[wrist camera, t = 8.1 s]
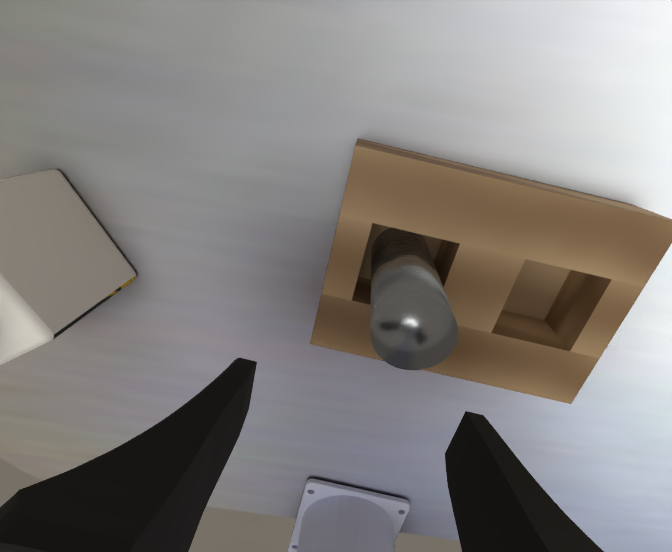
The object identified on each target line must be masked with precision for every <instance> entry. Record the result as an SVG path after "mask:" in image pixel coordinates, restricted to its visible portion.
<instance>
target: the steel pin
mask: <svg viewBox="0 0 672 552" xmlns="http://www.w3.org/2000/svg"><path fill="white" fill-rule="evenodd" d="M370 336H371V342H372V345H373V348H374V350H375V351H376V353H377V354H378V355H379V356H380V357H381V358H382V359H383V360H384V361H385V362H387V363H388V364H390V365H392V366H395V367H397V368H401V369H406V370H421V369H426V368H430V367H432V366H435V365H437V364H439V363H440V362H442V361H443V360H444V359H446V358H447V357H448V356H449V355H450V353H451V352H452V351H453V349H454V347H455V345H456V343H457V340H458V325H457V322H456V319H455V316H454V314H453V311H452V309H451V306H450V303H449V301H448V298H447V296H446V293H445V290H444V288H443V285H442V283H441V280H440V277H439V275H438V272H437V270H436V267H435V264H434V262H433V259H432V257H431V254H430V252H429V249H428V246H427V244H426V241H425V239H424V238H423V236H422V235H421V234H417V233H413V232H409V231H405V230H400V229H396V228H389V229H387V230H385V231H383V232H382V233H381V234H380V235H379V236H378V237H377V238H376V239H375V241H374V243H373V246H372V250H371V324H370Z"/></svg>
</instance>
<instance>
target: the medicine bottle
mask: <svg viewBox="0 0 672 552" xmlns="http://www.w3.org/2000/svg"><path fill="white" fill-rule="evenodd" d="M135 278H136V273H135V271H134V270H133V269H132V267H131V266H130V265H129V263H128V262H127V261H126V259H125V258H124V257H123V255H122V254H121V252H120V251H119V250H118V248H117V247H116V246H115V244H114V243H113V242H112V240H111V239H110V238H109V236H108V235H107V234H106V232H105V231H104V230H103V228H102V227H101V226H100V224H99V223H98V222H97V220H96V219H95V218H94V216H93V215H92V214H91V212H90V211H89V210H88V208H87V207H86V206H85V204H84V203H83V201H82V200H81V199H80V197H79V196H78V195H77V193H76V192H75V191H74V189H73V188H72V187H71V185H70V184H69V183H68V181H67V180H66V179H65V177H64V176H63V175H62V173H61V172H60V171H58V170H55V169H51V170H46V171H41V172H36V173H31V174H25V175H20V176H15V177H10V178H5V179H0V365H2V364H4V363H6V362H8V361H10V360H12V359H14V358H16V357H18V356H21V355H23V354H25V353H27V352H29V351H31V350H33V349H35V348H37V347H39V346H41V345H43V344H45V343H48V342H50V341H52V340H53V339H54V338H56V337H57V336H58V335H60V334H61V333H63V332H64V331H65V330H67V329H68V328H69V327H71V326H72V325H73V324H75V323H76V322H77V321H79V320H80V319H82V318H83V317H84V316H86V315H87V314H88V313H90V312H91V311H92V310H94V309H95V308H96V307H98V306H99V305H100V304H102V303H103V302H105V301H106V300H107V299H109V298H110V297H111V296H113V295H114V294H115V293H117V292H118V291H119V290H121V289H122V288H124V287H125V286H126V285H128V284H129V283H130V282H132V281H133V280H134V279H135Z"/></svg>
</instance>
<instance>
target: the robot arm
mask: <svg viewBox="0 0 672 552" xmlns="http://www.w3.org/2000/svg"><path fill="white" fill-rule="evenodd" d="M256 364H257V362H255V361H251V360H247V359H242V358H238V359H236V360H235V361H234V362H233V363H232V364H231V365H230V366H229V367H228V368H227V369H226V370H225V371H224V372H222V373H221V374H220V375H219V376H218V377H217V378H216V379H215V380H214V381H213V382H212V383H210V384H209V385H208V386H207V387H206V388H204V389H203V390H202V391H201V392H200V393H199V394H197V395H196V396H195V397H194V398H192V399H191V400H190V401H188V402H187V403H186V404H184V405H183V406H182V407H180V408H179V409H178V410H176V411H175V412H174V413H172V414H171V415H169V416H168V417H167V418H165V419H164V420H162V421H161V422H159V423H158V424H156V425H154V426H153V427H151V428H150V429H148V430H147V431H145V432H143V433H142V434H140V435H138V436H136V437H135V438H133V439H131V440H129V441H128V442H126V443H124V444H122V445H121V446H119V447H117V448H115V449H113V450H111V451H109V452H107V453H105V454H103V455H101V456H99V457H97V458H95V459H93V460H91V461H88V462H86V463H84V464H82V465H80V466H78V467H76V468H74V469H71V470H69V471H67V472H64V473H62V474H59V475H57V476H54V477H52V478H49V479H47V480H44V481H41V482H39V483H37V484H34V485H31V486H29V487H26V488H23V489H21V490H19V491H18V492H17V493H16V494H15V495H14V496H13V497H11V498H10V499H9V500H8V501H7V502H6V503H5V504H4V505H2V506H1V507H0V552H188V551H189V548H190V546H191V543H192V540H193V538H194V535H195V532H196V530H197V527H198V524H199V522H200V519H201V516H202V514H203V511H204V509H205V507H206V505H207V502H208V500H209V498H210V496H211V494H212V492H213V490H214V488H215V485H216V483H217V481H218V479H219V477H220V475H221V473H222V471H223V469H224V467H225V465H226V463H227V460H228V458H229V456H230V454H231V452H232V450H233V448H234V446H235V444H236V441H237V439H238V437H239V435H240V432H241V429H242V426H243V423H244V421H245V418H246V415H247V412H248V409H249V404H250V399H251V393H252V387H253V381H254V375H255V370H256ZM445 460H446V472H447V482H448V488H449V493H450V498H451V503H452V507H453V512H454V516H455V521H456V525H457V530H458V535H459V539H460V543H461V548H462V552H604V551H603V550H602V549H600V548H599V547H598V546H597V545H596V544H595V543H594V542H593V541H592V540H591V539H590V538H589V537H588V536H587V535H586V534H585V533H584V532H583V531H582V530H581V529H580V528H579V527H578V526H577V525H576V524H575V523H574V522H573V521H572V520H571V519H570V518H569V517H568V516H567V515H566V514H565V513H564V512H563V511H562V510H561V509H560V508H559V506H558V505H557V504H556V503H555V502H554V501H553V500H552V499H551V498H550V496H549V495H548V494H547V493H546V492H545V491H544V490H543V488H542V487H541V486H540V485H539V484H538V483H537V482H536V480H535V479H534V478H533V477H532V476H531V474H530V473H529V472H528V471H527V470H526V468H525V467H524V466H523V465H522V463H521V462H520V461H519V460H518V458H517V457H516V456H515V455H514V453H513V452H512V451H511V449H510V448H509V447H508V446H507V444H506V443H505V442H504V441H503V439H502V438H501V437H500V435H499V434H498V433H497V432H496V430H495V429H494V428H493V426H492V425H491V424H490V423H489V422H488V420H487V419H486V418H485V417H484V416H483V415H480V414H475V413H471V412H467V411H466V412H465V414H464V416H463V418H462V420H461V422H460V424H459V426H458V428H457V430H456V432H455V434H454V436H453V438H452V440H451V443H450V445H449V447H448V449H447V451H446V453H445ZM409 510H410V503H409V501H408V500H406V499H402V498H398V497H393V496H389V495H384V494H380V493H375V492H371V491H366V490H362V489H358V488H353V487H349V486H344V485H340V484H335V483H331V482H326V481H322V480H317V479H309V480H307V482H306V485H305V489H304V492H303V496H302V500H301V503H300V507H299V511H298V514H297V518H296V522H295V525H294V529H293V532H292V536H291V540H290V544H289V547H288V552H395V545H394V542H395V540H396V538H397V536H398V534H399V531H400V529H401V527H402V525H403V523H404V521H405V518H406V516H407V514H408V512H409Z"/></svg>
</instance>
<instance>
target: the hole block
mask: <svg viewBox="0 0 672 552" xmlns="http://www.w3.org/2000/svg"><path fill="white" fill-rule="evenodd" d="M389 228H396V229H400V230H405V231H409V232H413V233H417V234H421V235H422V236H423V238H424V239H425V241H426V244H427V246H428V249H429V252H430V254H431V257H432V259H433V262H434V264H435V267H436V270H437V272H438V275H439V277H440V280H441V283H442V285H443V288H444V290H445V293H446V296H447V298H448V301H449V303H450V306H451V309H452V311H453V314H454V316H455V319H456V322H457V325H458V340H457V343H456V345H455V347H454V349H453V351H452V352H451V353H450V355H449V356H448V357H447V358H446V359H444V360H443V361H442V362H440V363H439V364H437V365H435V366H432V367H430V368H426V369H421V370H426V371H430V372H434V373H439V374H443V375H447V376H452V377H456V378H460V379H465V380H469V381H473V382H478V383H482V384H487V385H491V386H495V387H500V388H504V389H508V390H513V391H517V392H521V393H526V394H530V395H534V396H539V397H543V398H547V399H552V400H556V401H560V402H565V403H569V404H571V403H572V401H573V400H574V398H575V397H576V395H577V394H578V392H579V390H580V389H581V387H582V386H583V384H584V382H585V381H586V379H587V378H588V376H589V374H590V373H591V371H592V370H593V368H594V366H595V365H596V363H597V362H598V360H599V358H600V357H601V355H602V354H603V352H604V350H605V349H606V347H607V346H608V344H609V342H610V341H611V339H612V338H613V336H614V334H615V333H616V331H617V330H618V328H619V326H620V325H621V323H622V322H623V320H624V318H625V317H626V315H627V314H628V312H629V310H630V309H631V307H632V306H633V304H634V302H635V301H636V299H637V298H638V296H639V294H640V293H641V291H642V290H643V288H644V286H645V285H646V283H647V282H648V280H649V278H650V277H651V275H652V274H653V272H654V270H655V269H656V267H657V266H658V264H659V262H660V261H661V259H662V258H663V256H664V254H665V253H666V251H667V250H668V248H669V246H670V245H671V243H672V219H669V218H667V217H664V216H661V215H659V214H656V213H653V212H651V211H648V210H645V209H643V208H640V207H637V206H635V205H632V204H628V203H624V202H620V201H616V200H612V199H607V198H603V197H599V196H595V195H591V194H587V193H582V192H578V191H574V190H570V189H566V188H562V187H557V186H553V185H549V184H545V183H541V182H536V181H532V180H528V179H524V178H520V177H516V176H511V175H507V174H503V173H499V172H495V171H491V170H486V169H482V168H478V167H474V166H470V165H465V164H461V163H457V162H453V161H449V160H445V159H440V158H436V157H432V156H428V155H424V154H420V153H415V152H411V151H407V150H403V149H399V148H394V147H390V146H386V145H382V144H378V143H374V142H369V141H365V140H361V139H357V142H356V145H355V149H354V153H353V158H352V162H351V167H350V171H349V175H348V180H347V184H346V189H345V193H344V197H343V202H342V206H341V210H340V215H339V219H338V224H337V228H336V232H335V237H334V241H333V245H332V250H331V254H330V259H329V263H328V267H327V272H326V276H325V281H324V285H323V289H322V294H321V298H320V302H319V307H318V311H317V316H316V320H315V324H314V329H313V333H312V337H311V342H310V344H313V345H317V346H321V347H326V348H330V349H334V350H339V351H343V352H347V353H352V354H356V355H360V356H365V357H369V358H374V359H378V360H382V361H384V360H383V359H382V358H381V357H380V356H379V355H378V354H377V353H376V351H375V350H374V348H373V345H372V342H371V336H370V324H371V250H372V246H373V243H374V241H375V239H376V238H377V237H378V236H379V235H380V234H381V233H382V232H383V231H385V230H387V229H389Z"/></svg>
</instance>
